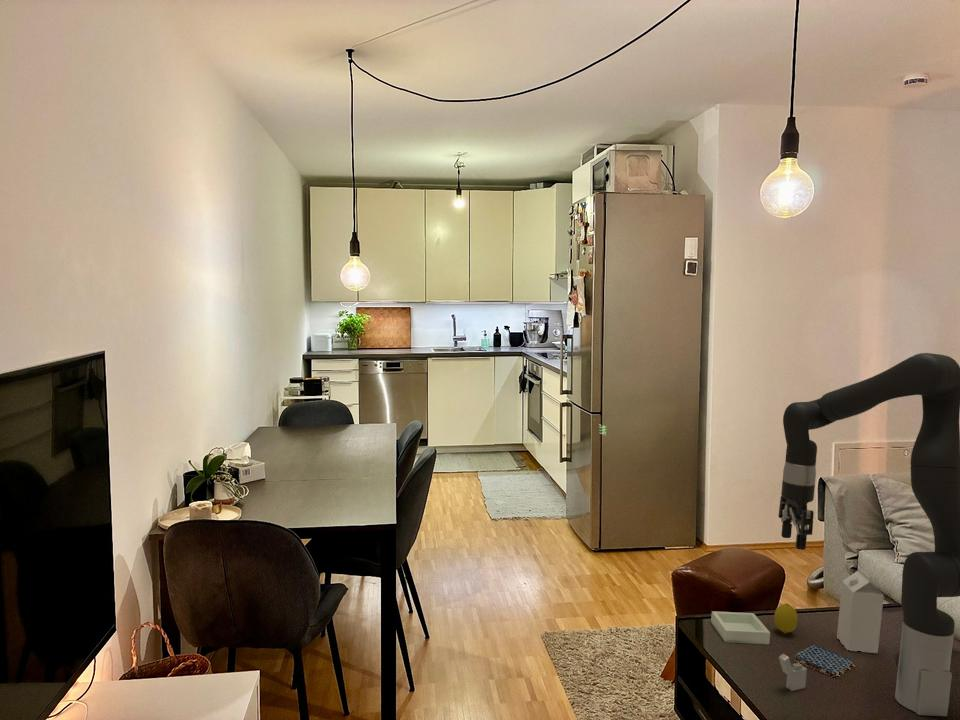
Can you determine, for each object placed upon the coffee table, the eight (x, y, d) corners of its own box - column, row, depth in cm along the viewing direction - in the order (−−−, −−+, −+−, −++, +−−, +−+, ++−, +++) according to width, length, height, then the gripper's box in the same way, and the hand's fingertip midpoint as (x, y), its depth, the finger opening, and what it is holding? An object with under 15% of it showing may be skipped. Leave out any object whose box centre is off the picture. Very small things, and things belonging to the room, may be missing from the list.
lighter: (799, 683, 162) (802, 649, 161) (805, 687, 160) (809, 653, 159) (775, 689, 159) (778, 654, 158) (781, 693, 157) (784, 657, 157)
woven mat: (791, 662, 172) (791, 654, 172) (812, 650, 179) (813, 642, 179) (835, 682, 164) (836, 673, 164) (856, 668, 171) (857, 660, 171)
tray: (769, 644, 180) (770, 632, 180) (724, 642, 180) (725, 630, 180) (752, 624, 191) (753, 613, 191) (710, 622, 191) (711, 611, 191)
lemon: (768, 630, 188) (770, 600, 187) (783, 627, 190) (786, 597, 189) (785, 640, 183) (788, 609, 182) (801, 636, 185) (803, 606, 184)
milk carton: (865, 640, 185) (872, 568, 183) (877, 654, 178) (885, 578, 176) (836, 638, 186) (843, 565, 184) (847, 651, 178) (855, 576, 177)
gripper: (827, 488, 176) (820, 553, 177) (801, 474, 190) (795, 534, 192) (796, 487, 176) (790, 552, 177) (772, 472, 190) (767, 533, 191)
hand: (792, 543), depth 184 cm, fingers open, 8 cm apart
